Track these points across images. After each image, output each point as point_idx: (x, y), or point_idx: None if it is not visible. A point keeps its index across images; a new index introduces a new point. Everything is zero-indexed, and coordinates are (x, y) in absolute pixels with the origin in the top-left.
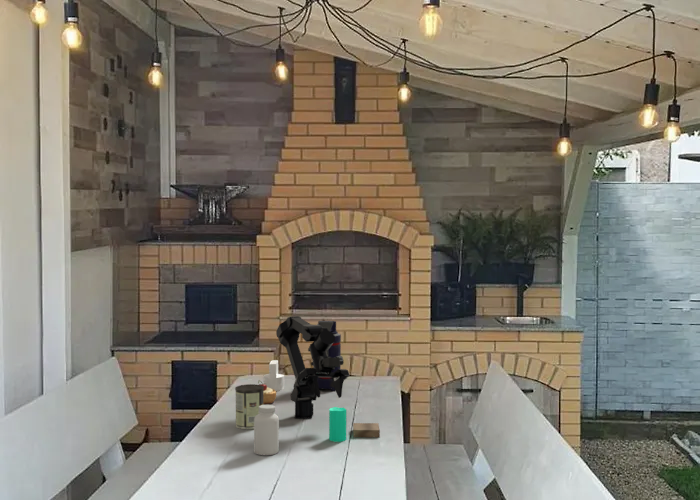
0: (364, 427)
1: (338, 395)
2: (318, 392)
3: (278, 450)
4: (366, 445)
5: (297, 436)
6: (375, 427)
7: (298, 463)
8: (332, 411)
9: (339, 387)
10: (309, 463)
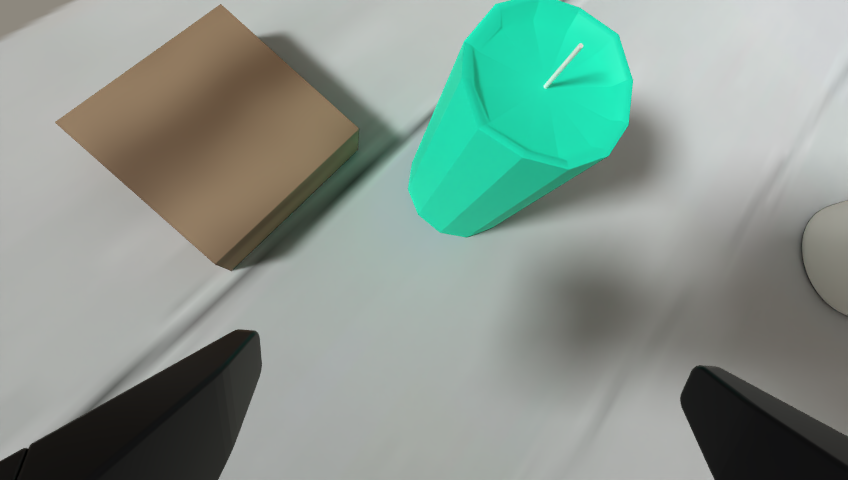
0: (249, 118)
1: (243, 401)
2: (786, 409)
3: (814, 220)
4: (414, 3)
5: (609, 395)
6: (184, 64)
7: (791, 56)
8: (626, 77)
9: (118, 477)
10: (758, 26)
